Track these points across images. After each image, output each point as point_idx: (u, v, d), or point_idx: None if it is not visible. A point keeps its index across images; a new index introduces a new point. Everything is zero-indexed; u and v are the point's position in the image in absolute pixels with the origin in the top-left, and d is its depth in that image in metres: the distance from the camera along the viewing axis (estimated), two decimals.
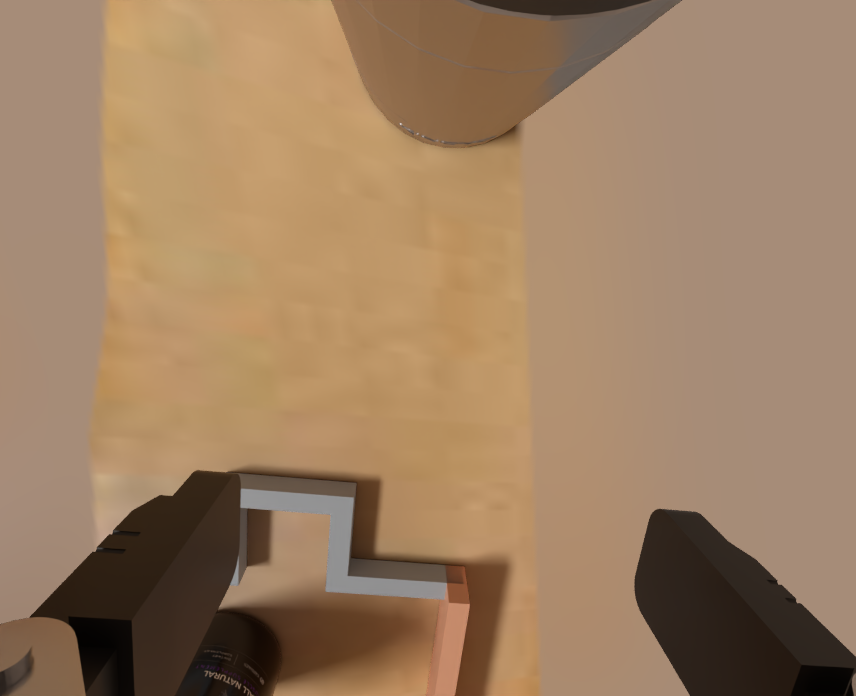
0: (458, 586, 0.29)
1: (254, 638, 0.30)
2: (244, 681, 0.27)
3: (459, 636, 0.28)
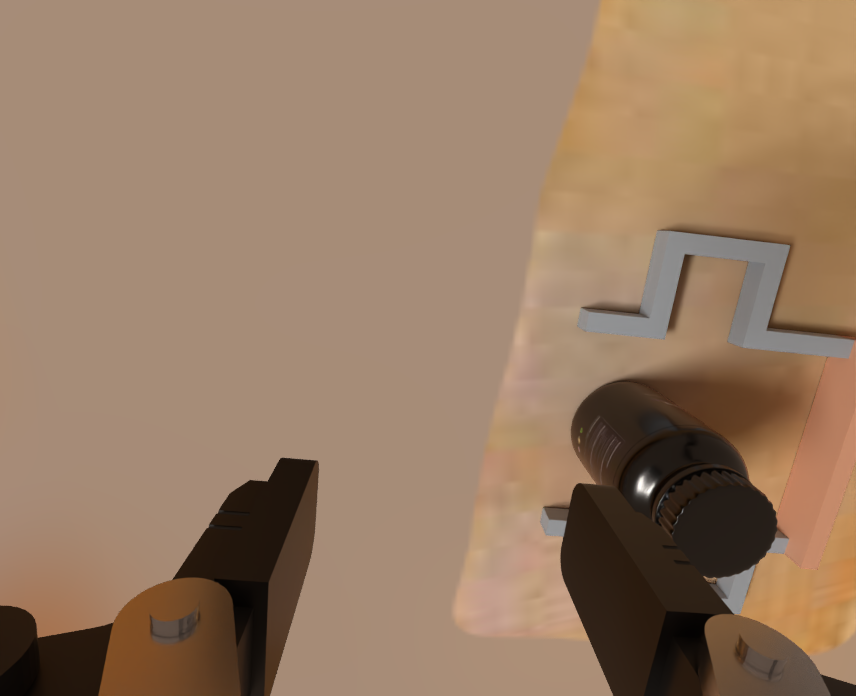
0: None
1: None
2: None
3: None
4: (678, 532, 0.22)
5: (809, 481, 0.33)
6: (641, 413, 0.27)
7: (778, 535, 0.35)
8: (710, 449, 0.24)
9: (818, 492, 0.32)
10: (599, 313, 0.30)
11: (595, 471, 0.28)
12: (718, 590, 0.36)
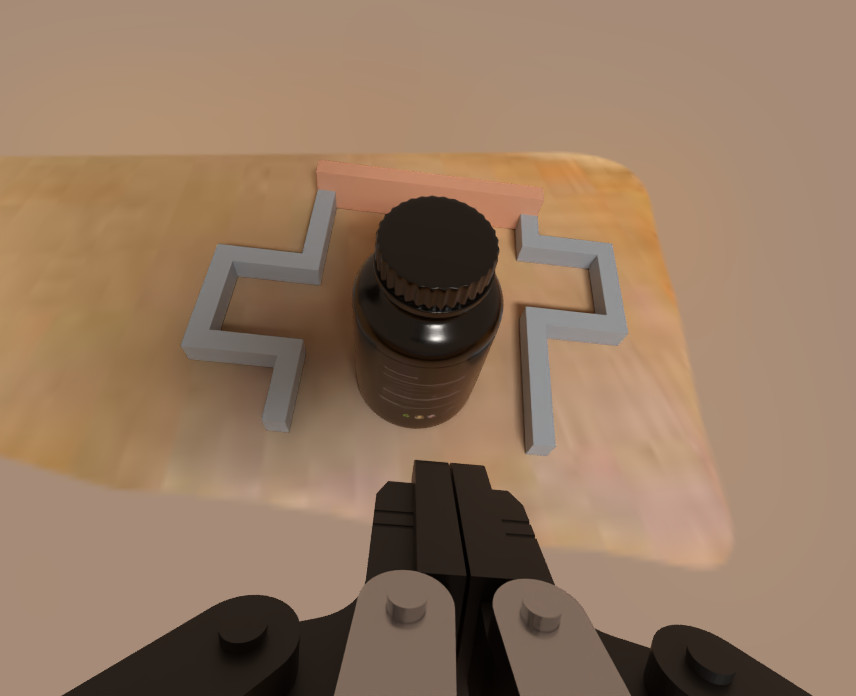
0: None
1: None
2: None
3: (352, 166, 0.33)
4: (440, 283, 0.18)
5: None
6: (358, 348, 0.23)
7: (519, 222, 0.35)
8: (368, 271, 0.21)
9: (464, 196, 0.34)
10: (265, 408, 0.26)
11: (437, 392, 0.23)
12: (593, 265, 0.34)
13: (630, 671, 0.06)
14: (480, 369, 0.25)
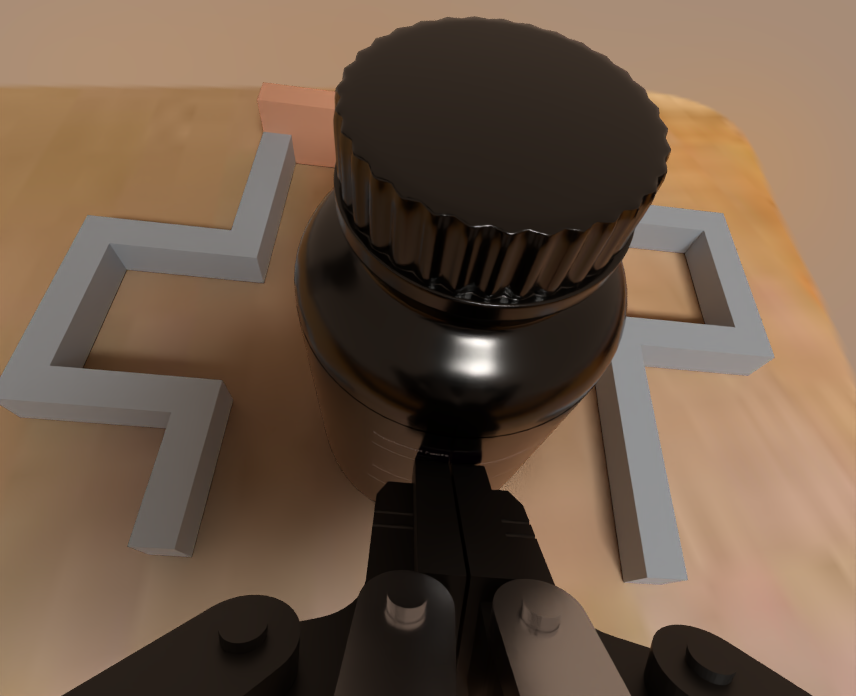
0: None
1: None
2: None
3: (316, 93, 0.21)
4: (532, 216, 0.06)
5: None
6: (318, 389, 0.11)
7: None
8: (326, 218, 0.09)
9: None
10: (138, 520, 0.13)
11: None
12: (694, 247, 0.22)
13: (630, 671, 0.06)
14: None
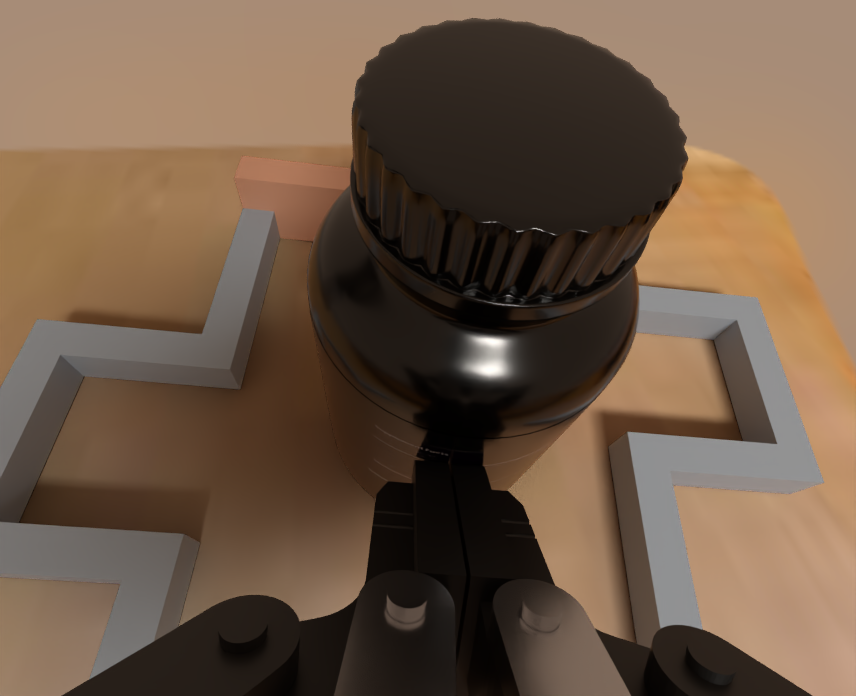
0: None
1: None
2: None
3: (301, 167, 0.19)
4: (541, 215, 0.06)
5: None
6: (324, 380, 0.11)
7: None
8: (342, 211, 0.09)
9: None
10: None
11: None
12: (725, 336, 0.20)
13: (630, 671, 0.06)
14: None
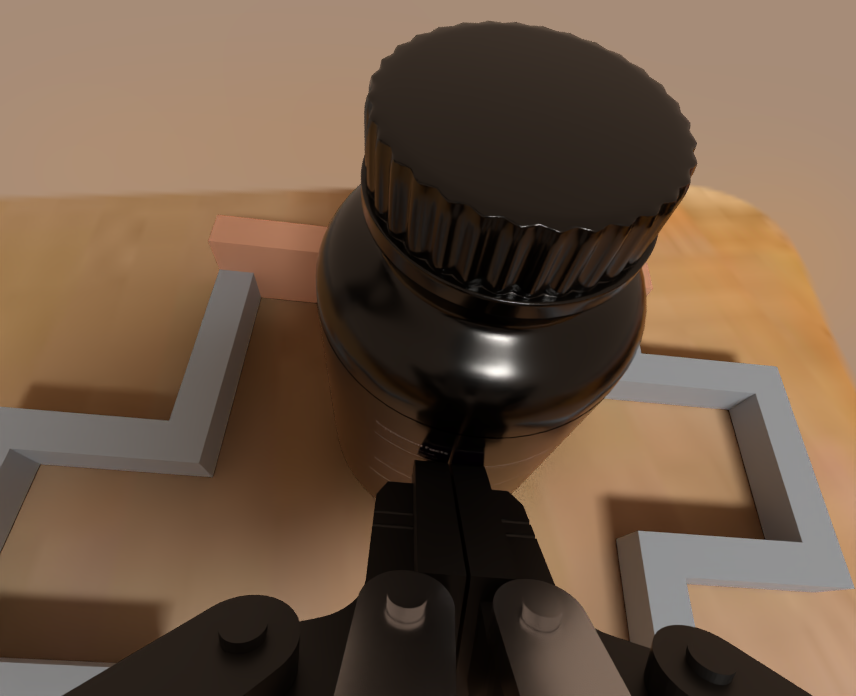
0: None
1: None
2: None
3: (282, 228, 0.17)
4: (545, 212, 0.06)
5: None
6: (329, 376, 0.11)
7: None
8: (353, 207, 0.09)
9: None
10: None
11: None
12: (742, 409, 0.18)
13: (630, 671, 0.06)
14: None
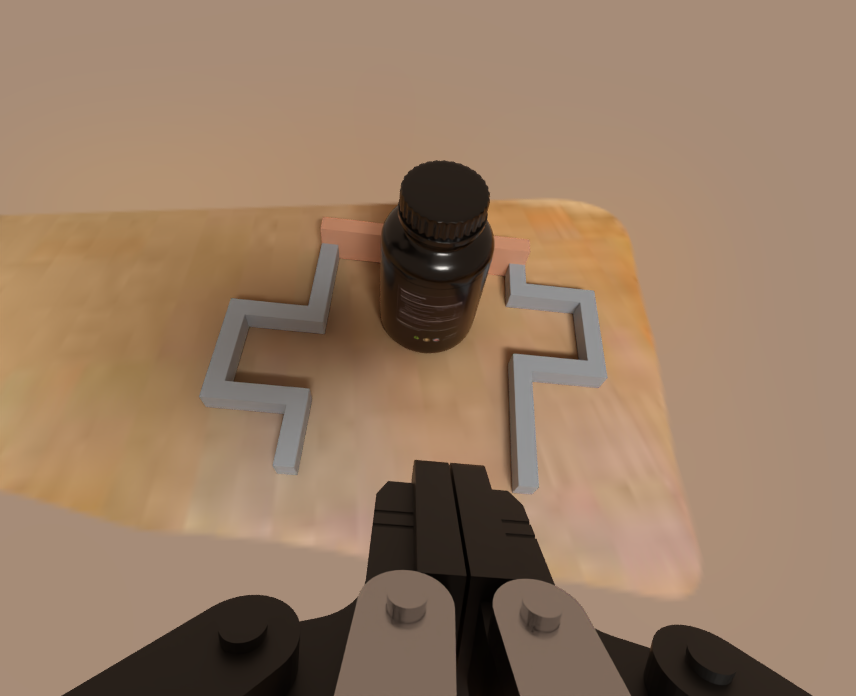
0: None
1: None
2: None
3: (353, 223, 0.36)
4: (444, 218, 0.25)
5: None
6: (382, 278, 0.31)
7: (508, 271, 0.38)
8: (394, 215, 0.28)
9: None
10: (276, 454, 0.28)
11: (440, 314, 0.30)
12: (576, 311, 0.37)
13: (630, 671, 0.06)
14: (476, 303, 0.32)
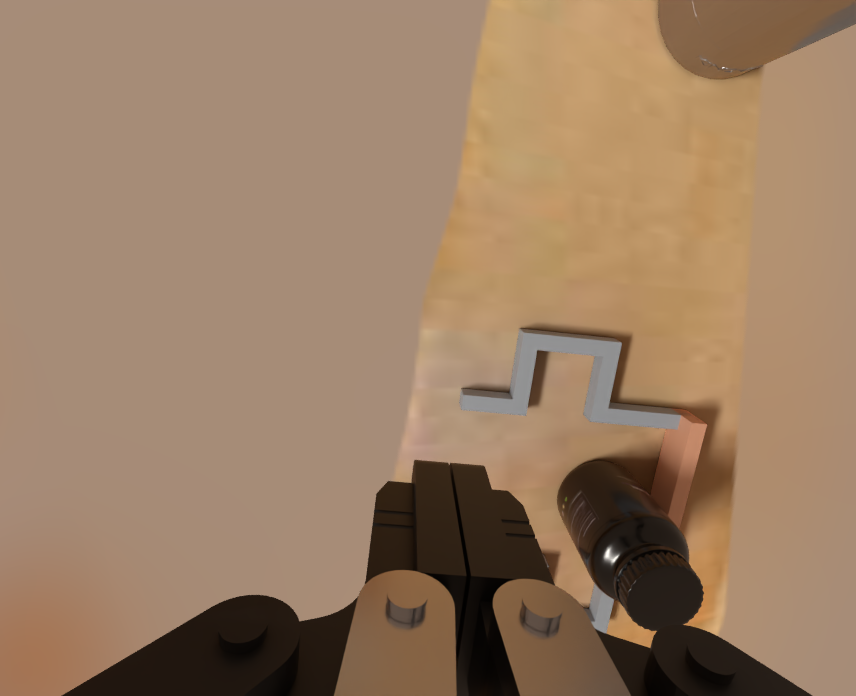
0: (691, 417, 0.38)
1: None
2: None
3: (696, 452, 0.37)
4: (631, 596, 0.30)
5: None
6: (613, 495, 0.35)
7: None
8: (661, 533, 0.32)
9: None
10: (472, 395, 0.37)
11: (574, 536, 0.36)
12: (588, 614, 0.43)
13: (630, 671, 0.06)
14: None
